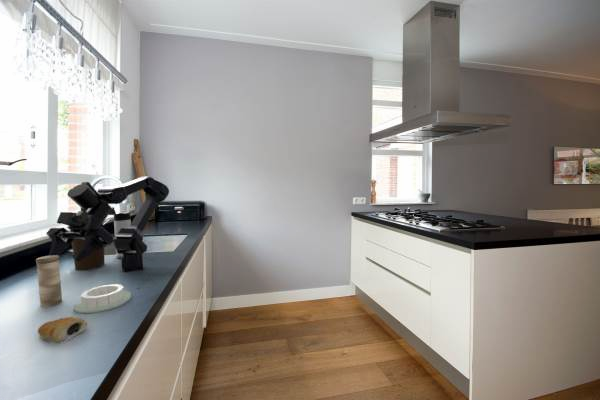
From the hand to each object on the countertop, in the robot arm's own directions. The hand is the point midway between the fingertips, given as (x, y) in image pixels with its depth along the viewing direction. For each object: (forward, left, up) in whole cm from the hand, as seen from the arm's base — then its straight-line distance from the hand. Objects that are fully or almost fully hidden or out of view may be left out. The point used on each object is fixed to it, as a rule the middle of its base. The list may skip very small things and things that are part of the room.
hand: (62, 260), depth 80 cm
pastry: (-2, +25, -11) cm, 28 cm away
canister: (+3, +3, -11) cm, 12 cm away
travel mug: (-16, -41, -11) cm, 46 cm away
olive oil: (-4, -33, -11) cm, 35 cm away
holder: (-9, +11, -11) cm, 18 cm away
